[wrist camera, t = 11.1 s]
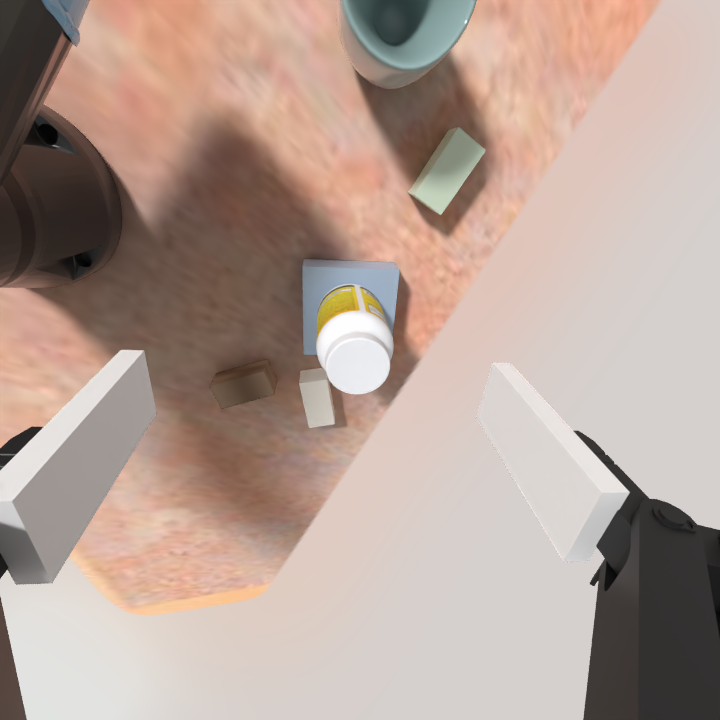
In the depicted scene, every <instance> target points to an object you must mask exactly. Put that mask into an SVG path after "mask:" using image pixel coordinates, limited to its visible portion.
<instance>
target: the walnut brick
mask: <svg viewBox="0 0 720 720" xmlns="http://www.w3.org/2000/svg"><path fill="white" fill-rule="evenodd" d="M276 384H277V379H276V377H275V375H274V373H273V370H272V368H271V366H270V364H269V361H268V359H265V360H262V361H258V362H254V363H251V364H247V365H244V366H240V367H237V368H233V369H229V370H226V371H222V372H219V373H216V375H215V377H214V379H213V380H212V382H211V384H210V386H209V387H210V389H211V390H212V392H213V394H214V396H215V398H216V399H217V401H218V403H219V405H220V407H221V409H223V408H227V407H230V406H234V405H238V404H241V403H245V402H249V401H252V400H256V399H260V398H263V397H267V396H271V395H274V393H275V389H276Z"/></svg>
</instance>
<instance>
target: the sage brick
mask: <svg viewBox="0 0 720 720" xmlns="http://www.w3.org/2000/svg"><path fill="white" fill-rule="evenodd" d="M485 151H486V150H485V149H484V148H483V147H481V146H480V145H479V144H478V143H477V142H476V141H474V140H473V139H472V138H471V137H470V136H469V135H468V134H466V133H465V132H464V131H463V130H462V129H461V128H460V127H457V128H453V129H449V130H448V131H447V133H446V134H445V136H444V138H443V139H442V141H441V142H440V144H439V145H438V147H437V148H436V150H435V151H434V153H433V155H432V156H431V158H430V159H429V161H428V162H427V164H426V165H425V167H424V168H423V170H422V172H421V173H420V175H419V176H418V178H417V179H416V181H415V182H414V184H413V186H412V187H411V189H410V190H409V192H408V193H409V194H410V195H412V196H413V197H414V198H416V199H417V200H418V201H420V202H421V203H422V204H424V205H425V206H426V207H428V208H429V209H430V210H432V211H433V212H435V213H437V214H439V215H441V214H442V213H443V212H444V210H445V209H446V207H447V206H448V204H449V203H450V201H451V200H452V199H453V197H454V196H455V194H456V193H457V191H458V190H459V189H460V187H461V186H462V184H463V183H464V181H465V180H466V179H467V177H468V176H469V174H470V173H471V171H472V170H473V168H474V167H475V166H476V164H477V163H478V161H479V160H480V158H481V157H482V156H483V154H484V153H485Z"/></svg>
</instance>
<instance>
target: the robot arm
mask: <svg viewBox="0 0 720 720" xmlns="http://www.w3.org/2000/svg"><path fill="white" fill-rule="evenodd" d="M89 1H90V0H0V287H4V288H52V287H58V286H63V285H67V284H70V283H73V282H76V281H78V280H80V279H82V278H84V277H86V276H89V275H90V274H92V273H94V272H96V271H97V270H99V269H100V268H101V267H102V266H103V265H105V264H106V263H107V261H108V260H109V259H110V258H111V256H112V255H113V253H114V251H115V249H116V247H117V245H118V242H119V238H120V234H121V227H122V213H121V205H120V200H119V196H118V192H117V189H116V186H115V184H114V181H113V179H112V177H111V174H110V172H109V170H108V169H107V167H106V165H105V163H104V162H103V160H102V158H101V157H100V156H99V154H98V153H97V151H96V150H95V149H94V147H93V146H92V145H91V144H90V142H89V141H88V140H87V139H86V138H85V137H84V136H83V135H82V134H81V133H80V132H79V131H78V130H77V129H76V128H75V127H74V126H73V125H72V124H71V123H70V122H68V121H67V120H66V119H65V118H63V117H62V116H61V115H59V114H58V113H56V112H55V111H53V110H52V109H50V108H49V107H47V106H45V105H43V103H44V101H45V99H46V97H47V95H48V93H49V91H50V89H51V87H52V85H53V83H54V81H55V79H56V77H57V75H58V73H59V71H60V69H61V67H62V65H63V63H64V61H65V59H66V57H67V55H68V53H69V50H70V48H71V46H72V44H74V45H75V46H76V47H77V45H78V43H79V41H80V34H79V31H78V28H79V25H80V23H81V20H82V18H83V15H84V13H85V10H86V8H87V5H88V3H89ZM156 414H157V412H156V407H155V402H154V397H153V392H152V387H151V382H150V377H149V372H148V367H147V362H146V357H145V352H144V350H120V351H119V352H118V353H117V354H116V355H115V356H114V357H113V358H112V359H111V360H110V361H109V362H108V363H107V364H106V365H105V366H104V367H103V368H102V369H101V370H100V371H99V372H98V373H97V374H96V375H95V376H94V377H93V378H92V379H91V380H90V381H89V382H88V383H87V384H86V385H85V386H84V387H83V388H82V389H81V390H80V391H79V392H78V393H77V394H76V395H75V396H74V397H73V398H72V399H71V400H70V401H69V402H68V403H67V404H66V405H65V406H64V407H63V408H62V409H61V410H60V411H59V412H58V413H57V414H56V415H55V416H54V417H53V418H52V419H51V420H50V421H49V422H48V423H47V424H46V425H45V426H44V427H31V428H29V429H27V430H25V431H24V432H22V433H20V434H18V435H17V436H15V437H13V438H11V439H10V440H9V441H8V442H7V443H6V444H5V445H4V446H3V447H1V448H0V578H1V577H2V576H3V574H4V573H5V572H6V570H8V571H9V573H10V575H11V577H12V578H13V580H14V582H15V584H41V583H53V581H54V579H55V578H56V576H57V574H58V573H59V571H60V570H61V568H62V566H63V565H64V563H65V561H66V560H67V558H68V557H69V555H70V553H71V552H72V550H73V548H74V547H75V545H76V544H77V542H78V540H79V539H80V537H81V535H82V534H83V532H84V531H85V529H86V527H87V526H88V524H89V522H90V521H91V519H92V518H93V516H94V514H95V513H96V511H97V510H98V508H99V506H100V505H101V503H102V501H103V500H104V498H105V497H106V495H107V493H108V492H109V490H110V488H111V487H112V485H113V484H114V482H115V480H116V479H117V477H118V475H119V474H120V472H121V471H122V469H123V467H124V466H125V464H126V462H127V461H128V459H129V458H130V456H131V454H132V453H133V451H134V449H135V448H136V446H137V445H138V443H139V441H140V440H141V438H142V436H143V435H144V433H145V432H146V430H147V428H148V427H149V425H150V424H151V422H152V420H153V419H154V417H155V415H156ZM476 418H477V420H478V421H479V423H480V425H481V426H482V428H483V430H484V431H485V433H486V435H487V436H488V438H489V440H490V441H491V443H492V445H493V446H494V448H495V450H496V451H497V453H498V455H499V456H500V458H501V460H502V461H503V463H504V465H505V466H506V468H507V470H508V471H509V473H510V475H511V476H512V478H513V480H514V481H515V483H516V484H517V486H518V488H519V489H520V491H521V493H522V494H523V496H524V498H525V499H526V501H527V503H528V504H529V506H530V508H531V509H532V511H533V513H534V514H535V516H536V518H537V519H538V521H539V523H540V524H541V526H542V528H543V529H544V531H545V533H546V534H547V536H548V538H549V539H550V541H551V543H552V544H553V546H554V547H555V549H556V551H557V552H558V554H559V556H560V557H561V559H562V561H563V562H579V561H588V560H589V559H590V557H591V555H592V554H593V552H594V550H595V549H596V547H597V548H598V549H599V551H600V552H601V553H602V555H603V556H604V558H605V559H604V561H603V563H602V564H601V566H600V567H599V569H598V570H597V572H596V573H595V575H594V577H593V578H592V580H591V582H590V584H591V585H592V586H595V584H596V582H597V581H599V583H598V592H597V602H596V610H595V620H594V629H593V637H592V647H591V656H590V665H589V674H588V683H587V693H586V701H585V711H584V719H583V720H720V530H717V529H713V528H708V527H704V526H700V525H697V524H696V523H695V522H694V521H693V520H692V518H691V517H690V516H688V515H687V514H686V513H684V512H683V511H681V510H680V509H679V508H677V507H675V506H673V505H671V504H669V503H667V502H663V501H660V500H657V499H649V498H648V497H647V496H646V495H645V494H644V493H643V492H642V490H641V489H640V488H639V487H638V486H637V485H636V484H635V483H634V482H633V481H632V480H631V479H630V478H629V477H628V476H627V475H626V474H625V473H624V472H623V471H622V470H621V469H620V468H619V467H618V466H617V465H615V464H614V461H612V459H611V458H610V457H609V456H608V455H605V452H604V451H603V450H602V449H601V448H600V447H599V446H598V445H597V444H596V443H595V442H594V441H593V440H591V439H590V438H589V437H587V436H586V435H584V434H583V433H581V432H579V431H573V430H572V429H571V428H570V427H569V426H568V425H567V424H566V423H565V422H564V421H563V419H562V418H561V417H560V416H559V415H558V414H557V413H556V412H555V411H554V410H553V409H552V408H551V407H550V406H549V404H548V403H547V402H546V401H545V400H544V399H543V398H542V397H541V396H540V395H539V393H538V392H537V391H536V390H535V389H534V388H533V387H532V386H531V385H530V384H529V383H528V382H527V380H525V378H524V377H523V376H522V375H521V374H520V373H519V372H518V371H517V370H516V369H515V367H514V366H513V365H512V364H511V363H492V367H491V370H490V373H489V377H488V380H487V383H486V387H485V390H484V393H483V397H482V400H481V404H480V407H479V411H478V414H477V417H476ZM0 720H27V719H26V715H25V710H24V706H23V701H22V696H21V691H20V687H19V682H18V677H17V673H16V668H15V663H14V659H13V654H12V650H11V644H10V640H9V635H8V630H7V626H6V621H5V616H4V612H3V607H2V603H1V598H0Z"/></svg>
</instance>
